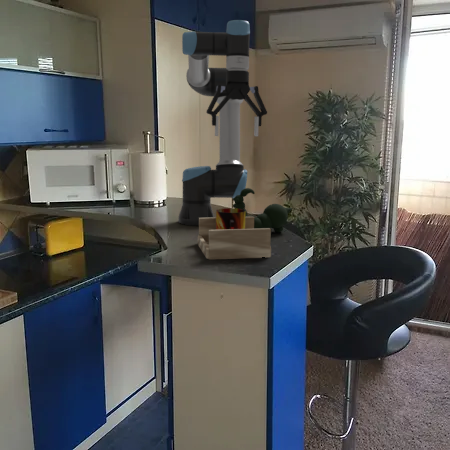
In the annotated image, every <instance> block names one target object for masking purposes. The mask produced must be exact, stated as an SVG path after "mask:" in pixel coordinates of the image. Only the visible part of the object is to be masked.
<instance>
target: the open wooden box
mask: <svg viewBox="0 0 450 450" xmlns="http://www.w3.org/2000/svg"><path fill="white" fill-rule="evenodd" d="M271 229H272V228H271ZM271 229H270V228H261V229H254V216H249V217H245V229H223V230H216V216H214V218H199V225H198V235H197V245H198V247H199V249H200V250H201V252H202V254H203V255H204V256H205V258H206V259H208V260H209V261H210V260H228V259H229V260H231V259H235V260H236V259H262V257H265V258H271V257H272V247H271V234H272V230H271Z"/></svg>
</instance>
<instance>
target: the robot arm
mask: <svg viewBox="0 0 450 450" xmlns="http://www.w3.org/2000/svg"><path fill="white" fill-rule="evenodd" d="M249 22H250V21H247V20H242V19H234V20H229V21H228V22H227V23H226V29H225V31H226V32H223V31H222V32H219V31H217V32H214V31H213V32H211V31H209V32H208V31H194V30H193V31H184V32H183V33H182V40H181V42H182V43H181V45H182V48H181V50H182V53H183V55H186V56H188V57H187V58H188V69H187V71H186V81H187V84H188V86H190V88H191V89H192V90H193V91H195V92H196V93H197V94H200V95H202V96H206V97H212V99H211V101H210V103H209V106H208V107H207V109H206V114H207V115H209V116H211V125H212V126H213V127H214V137H219V162H217V164H215V169H212V167H211V166H210V165H203V166H193V167H188V168H186V169H183V172H182V180H181V182H182V205H181V209H180V211H179V215H178V217H177V218H178V220H177V221H178V224H180V223H181V224H180V225H184V224H185V225H186V226H199V218H214V217H215V215H214V212H213V209H212V205H211V198H214V199H215V198H216V199H220V198H221V199H222V198H223V199H224V198H225V199H227V198H229V199H233V198H235V196H237V195H240V193H241V191H242V190H243V189H245V188H247V181H248V170H247V169H245V168H244V167H245V166H244V164H243V162H241V104H243V102H244V101H245V102H246V104H247V105H248V106H249V107H250V109H251V110H252V111H253V112H254V114H255V115H256V116H254V123H253V125H254V128H253V130H254V131H253V133H254V134H253V136H254V137H259V127H261V126H262V119H263V116H266V115H268V111H267V109H266V105H265V104H264V102H263V99H262V97H261V95H260V93H259V92H260V91H259V85H255V86H250V72H249V71H248V70H249V69H250V38H251V37H250V34H251V29H250V28H251V27H250V26H251V25H250V23H249ZM210 56H217V57H218V56H221V57H223V56H226V57H225V59H226V62H225V63H226V64H225V67H209V65H210V64H209V63H210V61H209V60H210ZM249 92H251V94H253V96H254V98H255V102H256V103H257V105H258V107H257V106H256V104H255V103H254V101H253V100H252V99H251V97H250V95H249ZM216 103H217V104H218V105H217V106H216V107H215V105H216ZM214 107H215V109H214ZM218 114H219V116H218Z"/></svg>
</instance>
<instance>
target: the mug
mask: <svg viewBox="0 0 450 450" xmlns="http://www.w3.org/2000/svg"><path fill="white" fill-rule="evenodd" d="M215 214H216V215H215V217H216V230H223V229H245V210H243V209H236V208H233V207H232V208H230V207H229V208H228V207H227V208H226V207H225V208H217V209H216V210H215Z"/></svg>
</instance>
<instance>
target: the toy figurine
mask: <svg viewBox="0 0 450 450" xmlns="http://www.w3.org/2000/svg"><path fill="white" fill-rule="evenodd" d="M249 194H252V195H255V190H253V189H252V188H249V187H246V188H245V189H243V190H242V191H241V193H240V195H237V196H235V198H232V201H233V202H234V203H233V204H232V208H236V209H243V210H245V217H250V216H249V215H248V212H247V211H248V210H247V209H246V203H245V202H244V199H245V197H246V196H248V195H249ZM292 210H293V208H292V207H284V205H282V204H280V203H272V204H269V205H267V206H266V207H265V208H264V210H263V212H262V213H260V214H258V215H256V217H254V216H253V217H254V229H261V228H270V229H271V231H272V229H273V231H274V232H276V233H281V232H283V231H284V226H285V225H287V224H288V215H289V213H290V212H291V211H292Z"/></svg>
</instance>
